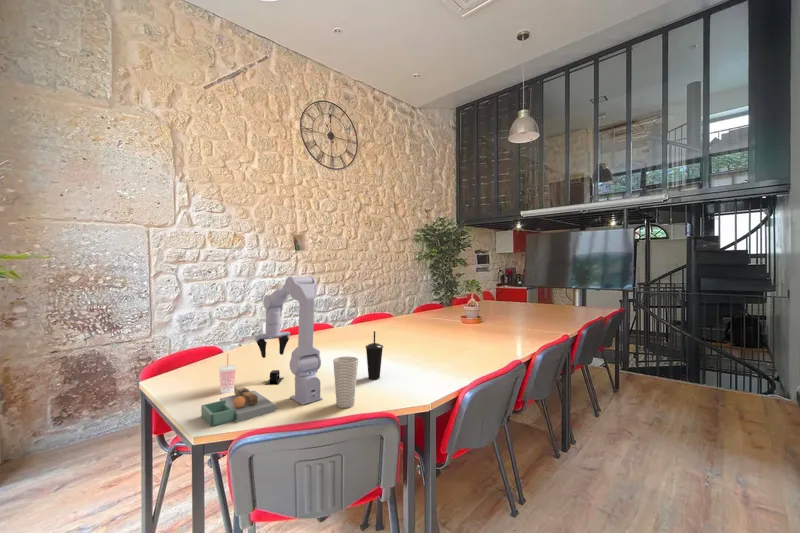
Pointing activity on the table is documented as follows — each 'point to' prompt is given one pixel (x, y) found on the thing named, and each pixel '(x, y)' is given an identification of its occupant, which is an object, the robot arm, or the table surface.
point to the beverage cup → (227, 377)
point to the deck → (251, 407)
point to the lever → (246, 394)
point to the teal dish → (218, 413)
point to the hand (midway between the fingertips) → (272, 355)
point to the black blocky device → (274, 378)
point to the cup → (345, 380)
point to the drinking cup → (374, 359)
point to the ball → (239, 402)
